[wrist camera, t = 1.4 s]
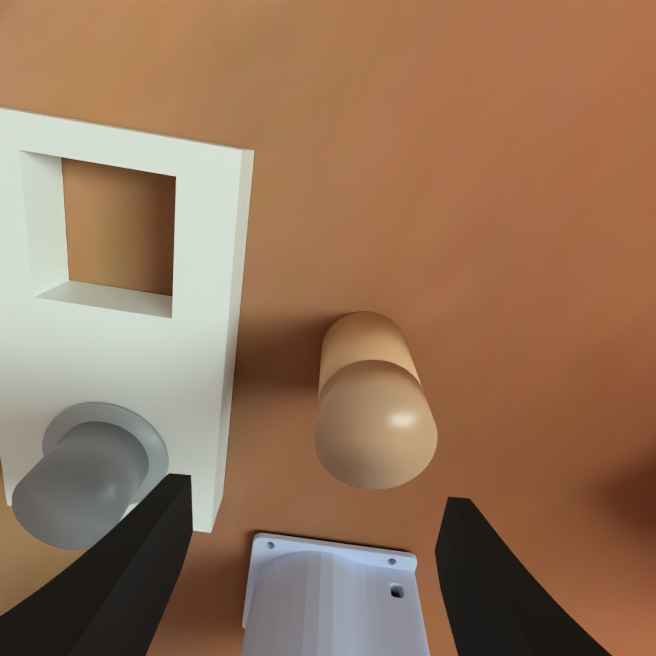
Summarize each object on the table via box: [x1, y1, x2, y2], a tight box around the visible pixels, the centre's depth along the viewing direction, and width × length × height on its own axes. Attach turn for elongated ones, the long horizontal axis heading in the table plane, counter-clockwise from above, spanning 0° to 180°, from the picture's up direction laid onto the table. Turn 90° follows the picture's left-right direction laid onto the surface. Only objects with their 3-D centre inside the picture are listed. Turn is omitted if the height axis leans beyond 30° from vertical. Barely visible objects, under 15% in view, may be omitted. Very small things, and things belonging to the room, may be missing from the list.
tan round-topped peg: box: [315, 312, 437, 490], centre depth 18 cm, size 4×4×7 cm
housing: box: [0, 106, 254, 550], centre depth 18 cm, size 10×18×6 cm, turn 171°
